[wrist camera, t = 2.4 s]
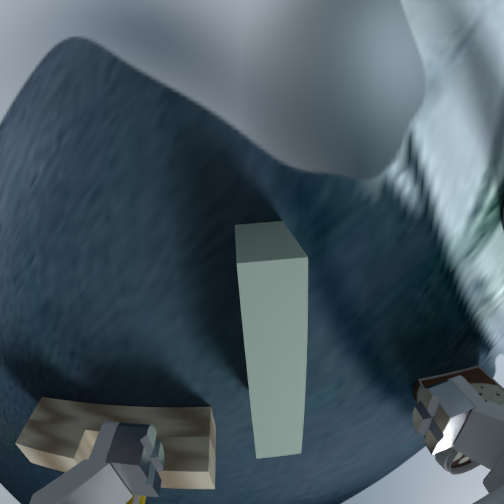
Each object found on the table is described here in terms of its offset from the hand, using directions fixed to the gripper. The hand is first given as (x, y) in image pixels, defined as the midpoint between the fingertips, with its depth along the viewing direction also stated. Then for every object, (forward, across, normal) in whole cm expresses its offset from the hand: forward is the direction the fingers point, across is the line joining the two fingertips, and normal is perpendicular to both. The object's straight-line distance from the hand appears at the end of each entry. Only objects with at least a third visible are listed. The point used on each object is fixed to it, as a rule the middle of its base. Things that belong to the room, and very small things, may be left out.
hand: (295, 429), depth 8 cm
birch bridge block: (+14, +14, +14) cm, 24 cm away
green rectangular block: (+14, 0, +4) cm, 14 cm away
